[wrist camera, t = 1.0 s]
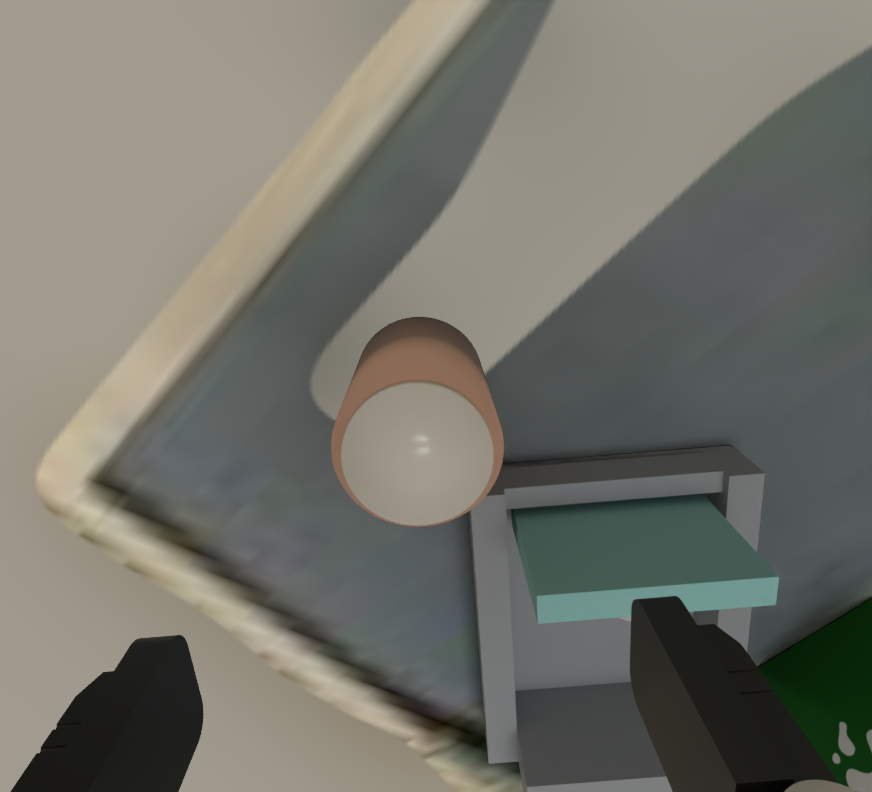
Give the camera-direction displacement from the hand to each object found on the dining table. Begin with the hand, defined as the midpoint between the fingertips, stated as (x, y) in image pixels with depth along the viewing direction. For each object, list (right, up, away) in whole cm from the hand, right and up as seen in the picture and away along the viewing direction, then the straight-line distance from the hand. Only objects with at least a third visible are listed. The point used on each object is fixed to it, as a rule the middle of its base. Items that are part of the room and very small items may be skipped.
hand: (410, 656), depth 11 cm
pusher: (+8, -1, +18) cm, 20 cm away
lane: (+9, -5, +20) cm, 23 cm away
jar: (0, +5, +16) cm, 17 cm away
